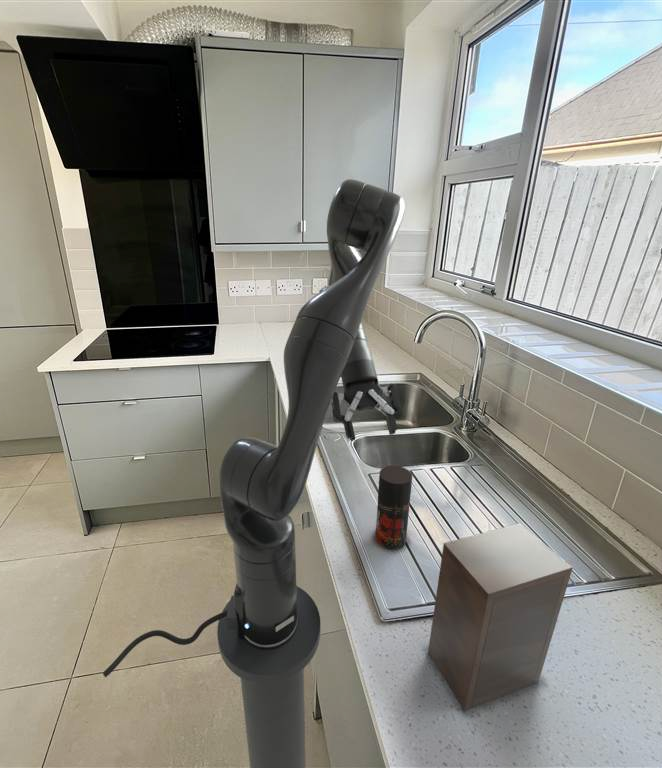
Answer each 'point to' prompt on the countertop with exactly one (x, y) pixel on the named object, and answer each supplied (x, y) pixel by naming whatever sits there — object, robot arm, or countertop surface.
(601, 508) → the countertop surface
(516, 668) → the tall brown cuboid
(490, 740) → the countertop surface
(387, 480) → the deodorant
